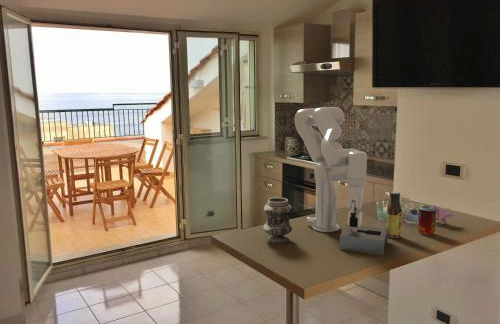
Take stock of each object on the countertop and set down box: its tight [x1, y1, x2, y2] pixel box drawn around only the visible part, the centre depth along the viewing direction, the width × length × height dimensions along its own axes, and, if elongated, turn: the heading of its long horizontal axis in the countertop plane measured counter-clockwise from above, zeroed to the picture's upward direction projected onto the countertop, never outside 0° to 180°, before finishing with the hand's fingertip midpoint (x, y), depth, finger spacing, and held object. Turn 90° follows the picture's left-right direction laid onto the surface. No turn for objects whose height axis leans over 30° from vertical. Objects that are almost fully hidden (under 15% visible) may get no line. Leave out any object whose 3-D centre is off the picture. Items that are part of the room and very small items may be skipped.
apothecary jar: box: [263, 197, 293, 245], centre depth 183 cm, size 12×12×18 cm
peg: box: [347, 210, 363, 232], centre depth 178 cm, size 5×5×14 cm
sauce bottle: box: [385, 191, 403, 240], centre depth 187 cm, size 7×6×20 cm
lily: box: [432, 205, 457, 228], centre depth 204 cm, size 12×12×10 cm
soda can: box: [417, 205, 436, 237], centre depth 191 cm, size 7×7×12 cm
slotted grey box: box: [339, 223, 389, 256], centre depth 177 cm, size 17×16×6 cm
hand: (354, 224), depth 178 cm, fingers closed on peg, 4 cm apart
